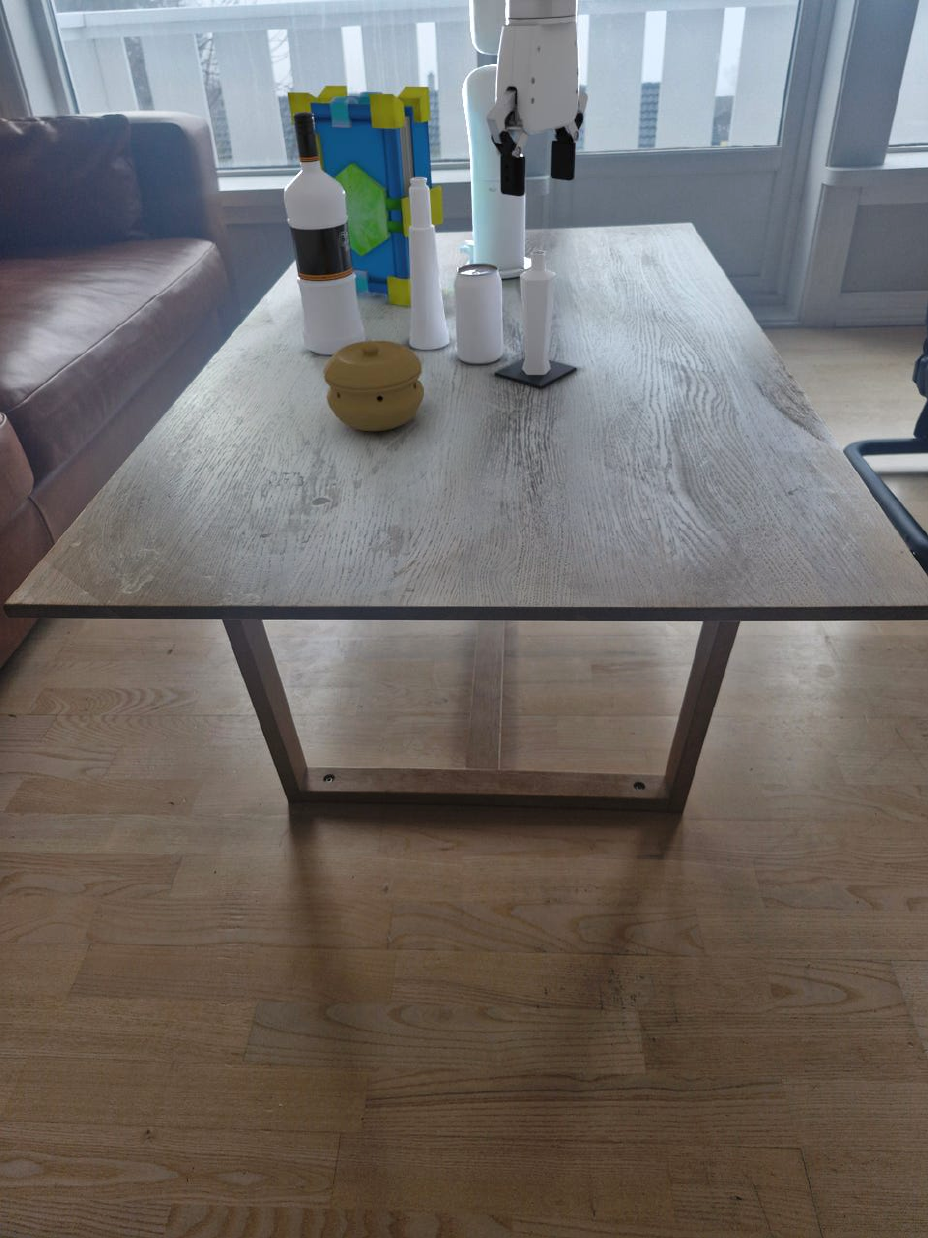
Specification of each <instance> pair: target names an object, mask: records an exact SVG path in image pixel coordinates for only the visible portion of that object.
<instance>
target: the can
mask: <svg viewBox="0 0 928 1238" xmlns="http://www.w3.org/2000/svg"><path fill="white" fill-rule="evenodd" d="M453 288H454V311H455V313H454V314H455V330H456V331H455V332H456V351H457V357H458V359H459V360H460V361H461V362H463V363H465V364H468V365H476V366H479V365H481V366H482V365H488V364H493V363H495V362H497V361H499V360H500V359H501V357H502V356H503V285H502V279H501V278H500V275H499V273H498V267H497V266H495V265H492V264H484V263H477V264H468V265H466V264H464V265H461V266H459V267H457V269H456V276H455V278H454V285H453Z"/></svg>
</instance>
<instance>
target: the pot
mask: <svg viewBox="0 0 928 1238" xmlns="http://www.w3.org/2000/svg"><path fill="white" fill-rule="evenodd" d="M422 373H423V367H422V362H421V360H420V359H419V357H418V356H417V355H416V354H415V352H413V351H412V349H411V350H410V348H408V347H407V346H405V345H404V344H401V343H398V342H395V341H389V340H371V339H370V340H369V339H368V340H365V341H364V342H358V343H354V344H351V345H348V346H345V347H343V348H341V349H340V350H338V351H337V352H336V353H335V354H334V355H331V357H329V359H328V360H327V362H326V363H325V366H324V369H323V379H324V382H325V383H326V384H327V385H328V386H329V388H328V390H327V394H326V401H327V404H328V406H329V408H330V410H331V411H332V413H333V414H334V415H335V416H336V418H338V419H339V420H340V421H341V422H342V423H343V424H344V425H346V426H348V427H349V428H352V429H354V430H357V431H364V432H382V431H388V430H392V429H396V428H398V427H401V426H403V425H405V424H406V423H407V422H409V421H411V419H413V417H414V416H416V413H417V412H418V410H419V408H420V406H421V404H422V402H423V399H424V396H425V388H424V386H423V384H422V382H421V381H420V379H419V378H420V376H421V374H422Z"/></svg>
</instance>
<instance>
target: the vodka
mask: <svg viewBox="0 0 928 1238" xmlns="http://www.w3.org/2000/svg"><path fill="white" fill-rule="evenodd" d="M293 118H294V125H293V126H294V132H295V138H296V145H297V150H298V151H297V152H298V158H299V165H300V172H298V174H297V175H296V176H295V177H293V179H292V180H291V181H290V183H289V184H287V186H286V187H285V189H284V192H283V203H284V208H285V211H286V215H287V219H286V221H287V224H288V225H289V227H290V228H289V229H290V235H291V241H292V242H291V243H292V247H293V254H294V259H295V266H296V272H297V278H296V283H297V284H298V289H299V292H300V298H301V307H302V308H301V309H302V321H303V331H302V336H303V343H304V346H305V347H306V348H307V349H308V351H310V352H313V353H314V354H317V355H323V356H333V355H334V354H335V353H336V352H337V351H338V350H340V349H341V348H343V347H345V346H348V345H351V344H354V343H358V342H364V341H366V339H367V333H366V327H365V325H364V323H363V320H362V315H361V311H360V306H359V300H358V294H357V292H356V285H355V278H356V275H355V273H354V272H353V271H354V270H353V261H352V253H351V245H350V237H349V229H348V216H347V212H346V201H345V199H346V194H345V191H344V189H343V187H342V185H341V184H340V183H339V182H338V181H337V180H335V179H334V178H332V177H331V176H330V175H328V174H327V173H325V172H324V171H322V170H321V167H320V162H319V156H318V148H317V141H316V134H315V126H314V121H313V114H312V113H310V112H299V113H296V114H294V115H293Z"/></svg>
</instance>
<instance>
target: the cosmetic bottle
mask: <svg viewBox="0 0 928 1238" xmlns="http://www.w3.org/2000/svg"><path fill="white" fill-rule="evenodd" d="M426 182H427V178H425V177H414V178H411V179H410V183H411V186H410V187H409V199H410V212H411V226H410V227H409V259H410V285H411V306H410V332H409V341H408V343H409V346H410V347H411V348H413V349H416V350H420V351H433V350H438V349H442V348H445V347H447V346H448V345H449V343H450V336H449V333H448V332H449V331H448V328H447V323H446V322H447V321H446V316H445V309H444V303H443V294H442V293H443V292H442V283H441V273H440V265H439V253H438V244H437V243H438V242H437V235H436V226H434V225H432V224H431V208H430V192H429V187H428V186H427V185H426Z"/></svg>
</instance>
